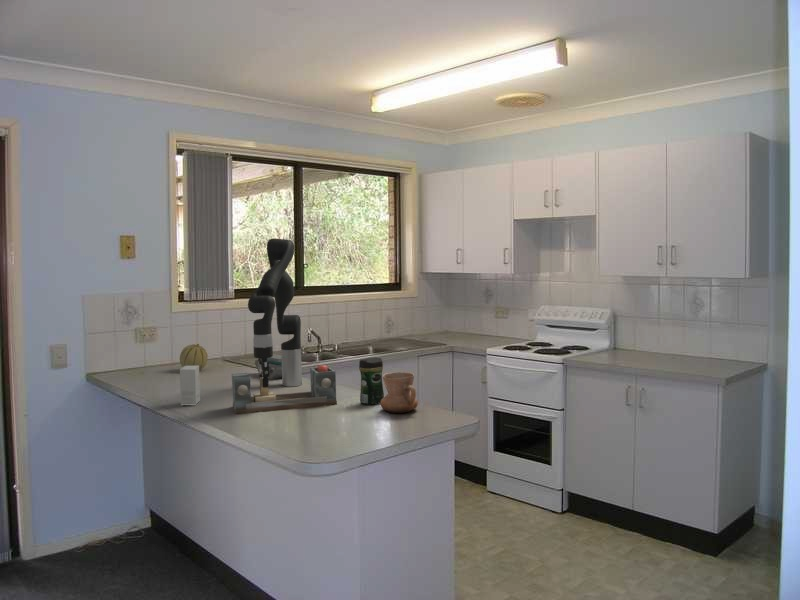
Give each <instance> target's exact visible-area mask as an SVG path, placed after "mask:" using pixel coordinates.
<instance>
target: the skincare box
mask: <svg viewBox="0 0 800 600" xmlns="http://www.w3.org/2000/svg"><path fill="white" fill-rule="evenodd" d="M179 382H180V383H179V384H180V386H179V387H180V388H179V389H180V391H179V392H180V405H181V404H196V403H198V402H199V401H200V402H201V392H200V390H201V388H200V386H201V385H200V370H199V365H198V366H184V367H181V368H180V369H179ZM200 402H199V403H200ZM199 403H198V404H199Z"/></svg>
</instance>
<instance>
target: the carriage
mask: <svg viewBox="0 0 800 600" xmlns="http://www.w3.org/2000/svg"><path fill="white" fill-rule="evenodd" d="M269 387H270V386H269ZM269 387H267V388H264V387H263V378H262V377H260V376H259V393H252V395H253V399H254V403H255V402H267V401H276V395H275V392H269V390H270V389H269Z"/></svg>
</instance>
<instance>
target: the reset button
mask: <svg viewBox="0 0 800 600" xmlns="http://www.w3.org/2000/svg"><path fill="white" fill-rule="evenodd" d="M327 367H328V364H327V365H325V364H324V365H323V364H322V365H318V366H317V368H318V372H326V371H328V370H327Z"/></svg>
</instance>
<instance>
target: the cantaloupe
mask: <svg viewBox="0 0 800 600" xmlns="http://www.w3.org/2000/svg"><path fill="white" fill-rule="evenodd" d="M208 357H209V355H208V352H207V350H206V348H204V347H203V346H201V345H200V343H196V344H189V345H187V346H185V347H183V349H182V350H181V352H180V354H179V364H180V365H181V368H183V367H184V366H198V365H199V371H201V370H202V369H203V368H205V366H206V365H207V363H208Z"/></svg>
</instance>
